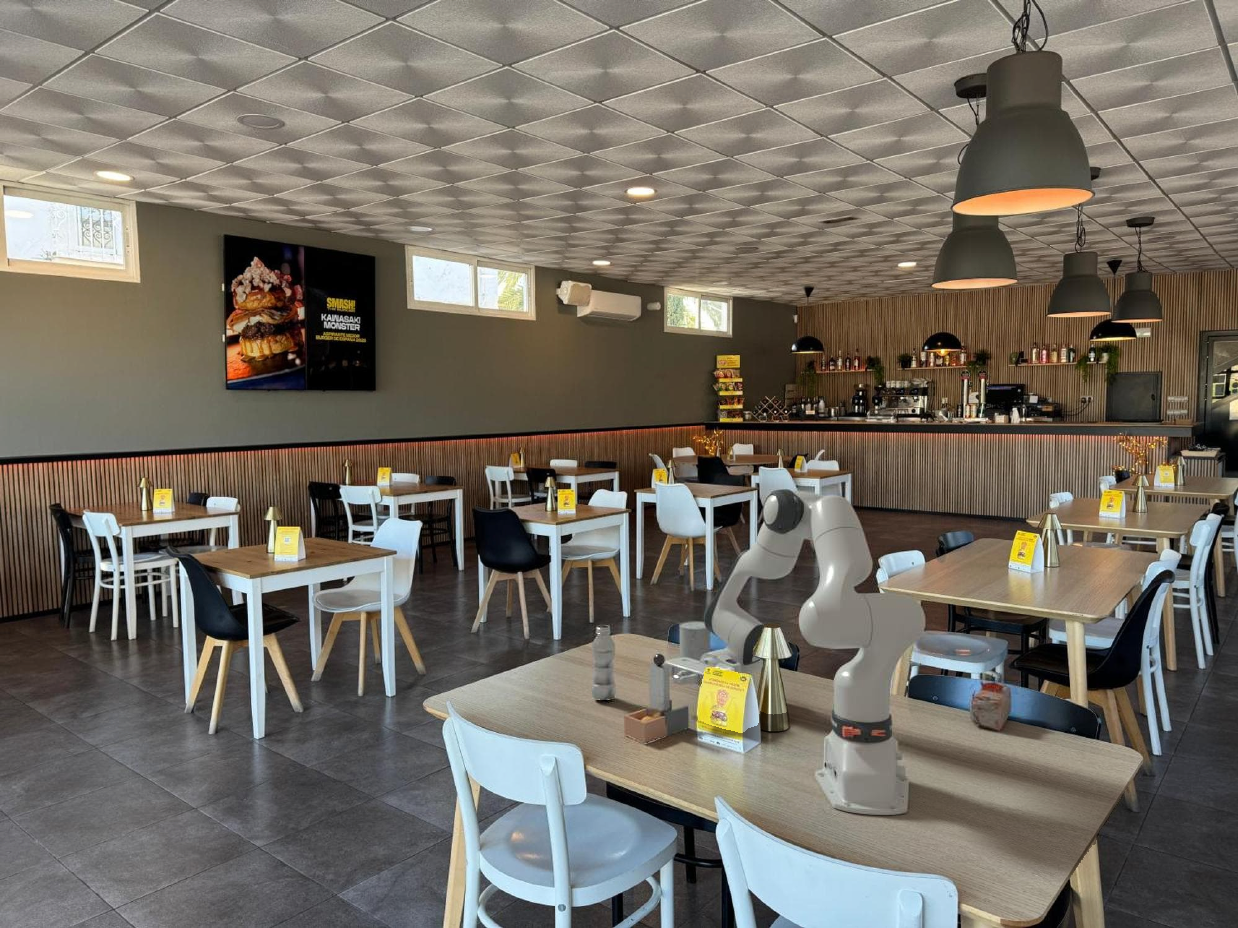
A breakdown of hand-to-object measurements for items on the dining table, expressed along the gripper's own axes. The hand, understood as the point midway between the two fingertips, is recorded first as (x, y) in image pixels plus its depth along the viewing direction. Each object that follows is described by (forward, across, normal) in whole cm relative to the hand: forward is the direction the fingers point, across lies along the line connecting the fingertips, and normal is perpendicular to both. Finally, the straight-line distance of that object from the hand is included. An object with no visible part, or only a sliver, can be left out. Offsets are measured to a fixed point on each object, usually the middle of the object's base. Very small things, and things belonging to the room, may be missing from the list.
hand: (677, 680), depth 204 cm
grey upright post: (+6, 0, +8) cm, 10 cm away
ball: (+10, 0, +9) cm, 13 cm away
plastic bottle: (+1, -26, +11) cm, 29 cm away
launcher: (+3, 0, +11) cm, 12 cm away
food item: (-58, +51, +11) cm, 78 cm away
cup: (+11, 0, +11) cm, 15 cm away
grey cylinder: (-40, -32, +12) cm, 52 cm away
